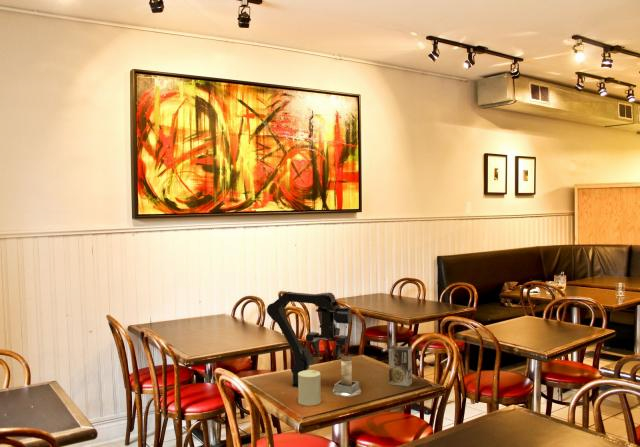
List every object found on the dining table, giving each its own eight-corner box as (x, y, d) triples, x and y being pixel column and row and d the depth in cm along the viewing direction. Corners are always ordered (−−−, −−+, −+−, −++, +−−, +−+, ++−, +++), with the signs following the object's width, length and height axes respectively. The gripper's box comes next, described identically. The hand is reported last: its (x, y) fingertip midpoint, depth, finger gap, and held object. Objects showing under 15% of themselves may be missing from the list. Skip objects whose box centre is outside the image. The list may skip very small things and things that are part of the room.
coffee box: (412, 382, 244) (412, 346, 243) (408, 387, 238) (408, 350, 237) (392, 380, 247) (392, 344, 247) (388, 384, 242) (388, 348, 241)
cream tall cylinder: (339, 391, 231) (339, 358, 230) (344, 387, 235) (343, 355, 234) (349, 392, 229) (349, 359, 228) (353, 389, 233) (353, 356, 232)
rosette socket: (327, 394, 229) (327, 385, 229) (339, 385, 240) (339, 377, 240) (354, 398, 224) (354, 389, 224) (365, 389, 234) (365, 381, 234)
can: (325, 401, 221) (325, 371, 221) (310, 407, 214) (309, 377, 214) (308, 396, 227) (308, 367, 227) (293, 402, 220) (293, 372, 220)
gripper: (354, 320, 240) (354, 356, 240) (316, 317, 248) (317, 351, 249) (344, 325, 230) (344, 362, 230) (305, 321, 238) (305, 357, 239)
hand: (327, 358), depth 237 cm, fingers open, 9 cm apart
